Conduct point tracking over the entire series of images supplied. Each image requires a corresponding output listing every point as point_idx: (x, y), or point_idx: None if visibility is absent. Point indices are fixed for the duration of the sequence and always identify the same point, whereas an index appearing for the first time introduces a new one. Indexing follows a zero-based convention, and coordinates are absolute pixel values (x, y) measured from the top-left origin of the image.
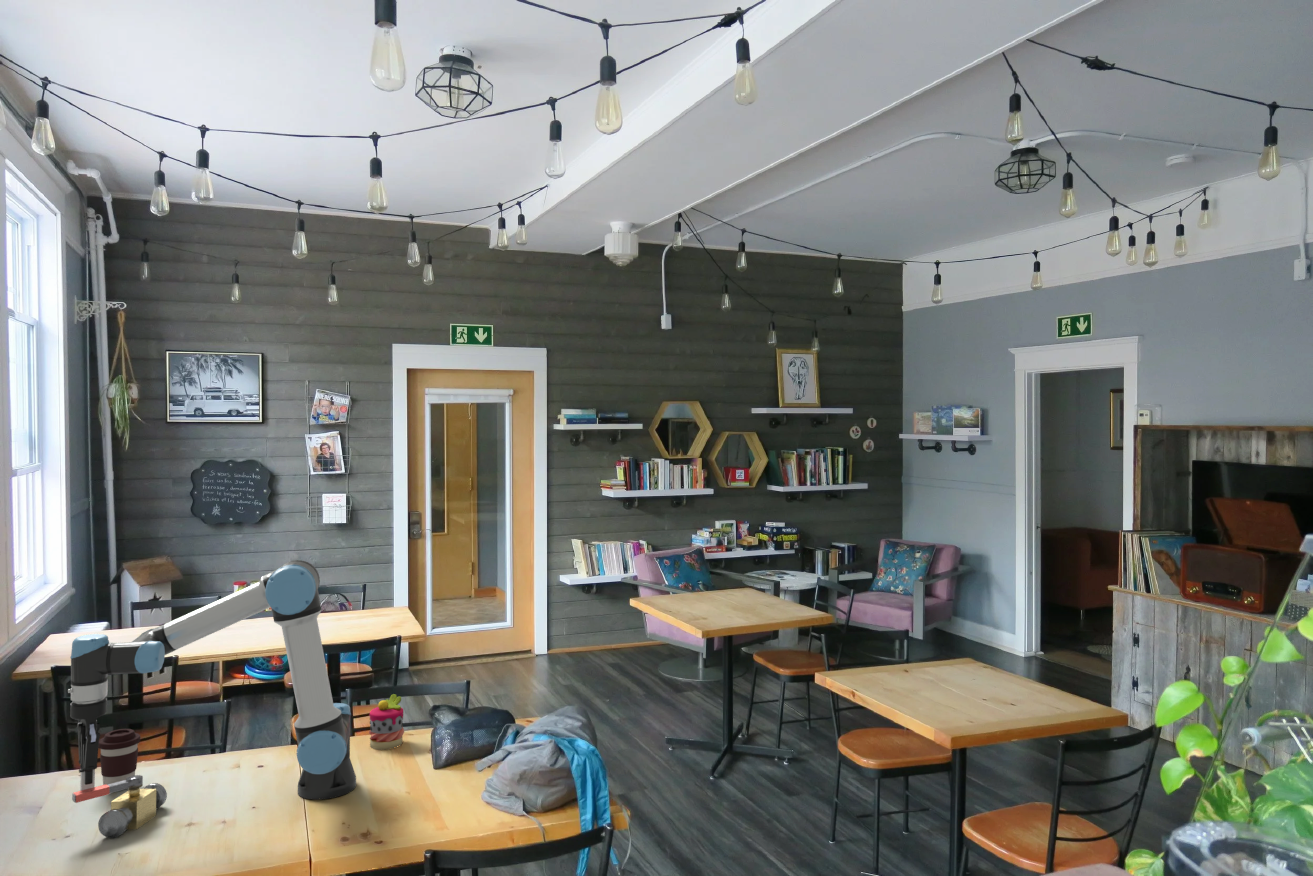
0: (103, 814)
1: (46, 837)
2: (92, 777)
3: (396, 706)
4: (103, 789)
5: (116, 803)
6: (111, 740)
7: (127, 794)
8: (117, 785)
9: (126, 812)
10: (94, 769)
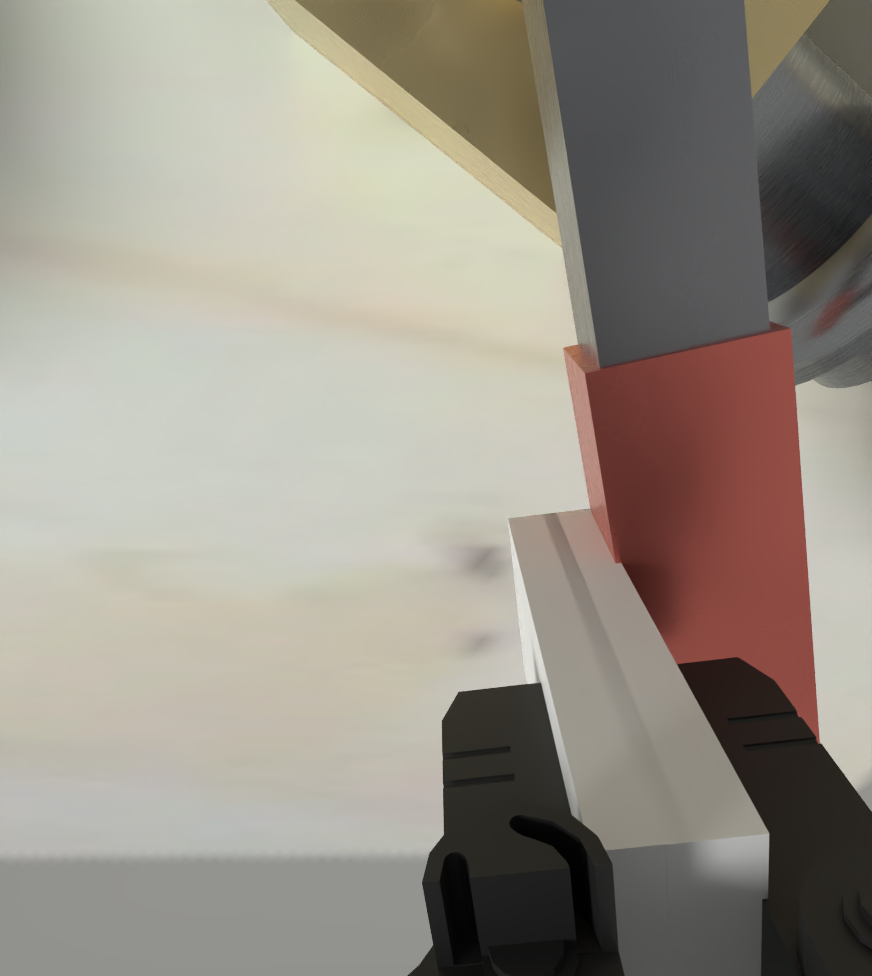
0: (844, 362)
1: (412, 685)
2: (793, 740)
3: None
4: (792, 428)
5: None
6: None
7: (461, 11)
8: (748, 170)
9: (839, 81)
10: (752, 824)
